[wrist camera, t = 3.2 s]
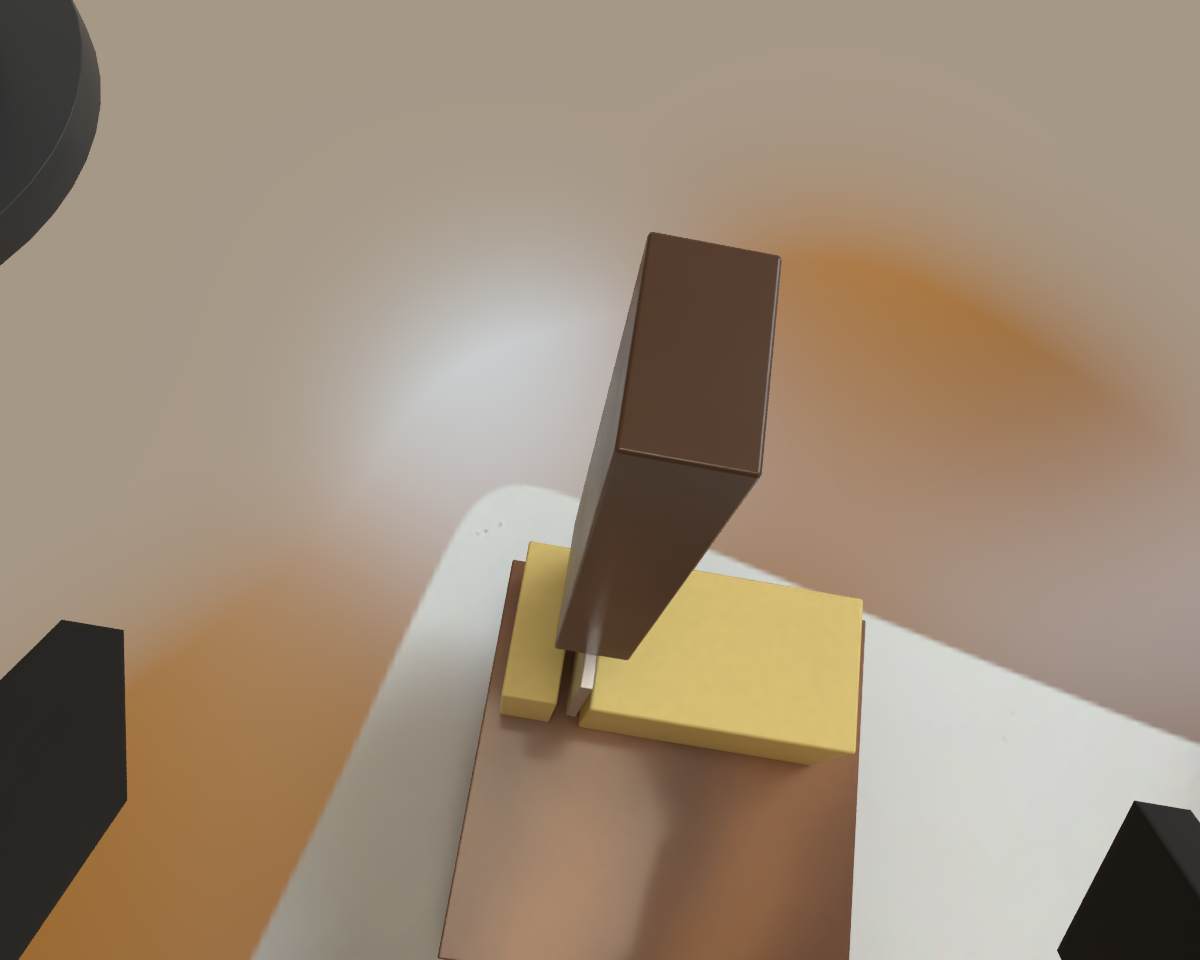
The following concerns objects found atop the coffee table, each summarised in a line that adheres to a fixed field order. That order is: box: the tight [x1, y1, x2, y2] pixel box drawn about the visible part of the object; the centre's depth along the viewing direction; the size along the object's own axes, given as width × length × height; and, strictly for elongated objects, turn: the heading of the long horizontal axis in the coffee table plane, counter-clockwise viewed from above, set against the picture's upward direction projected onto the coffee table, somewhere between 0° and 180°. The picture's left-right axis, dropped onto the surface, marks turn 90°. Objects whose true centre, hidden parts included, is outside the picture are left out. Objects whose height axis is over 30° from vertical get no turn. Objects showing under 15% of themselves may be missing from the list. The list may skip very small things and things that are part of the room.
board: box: [438, 560, 865, 960], centre depth 31 cm, size 12×12×2 cm
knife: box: [555, 232, 781, 717], centre depth 20 cm, size 2×5×17 cm, turn 172°
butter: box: [500, 541, 863, 765], centre depth 30 cm, size 10×4×4 cm, turn 82°
